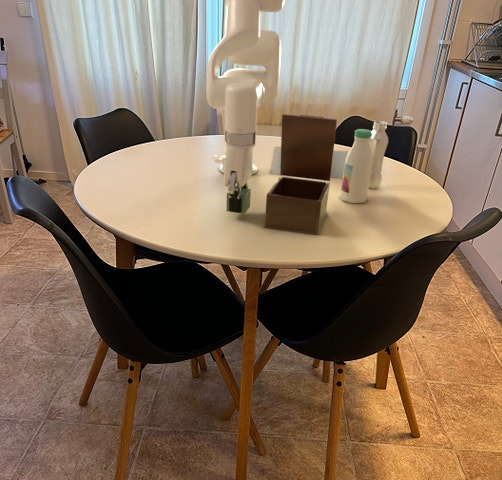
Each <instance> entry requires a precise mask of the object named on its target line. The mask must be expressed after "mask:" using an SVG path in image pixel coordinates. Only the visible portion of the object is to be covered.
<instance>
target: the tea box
mask: <svg viewBox="0 0 502 480" xmlns="http://www.w3.org/2000/svg"><path fill="white" fill-rule="evenodd" d="M330 185H331V183H330V181H323V180H315V179H307V178H299V177H291V176H283V175H280V176H279V177H278V178H277V180H276V181H275V182H274V184H273V186H271V188H269V191H268V192H267V193H266V196H265V197H266V198H265V214H264V228H266V229H271V230H280V231H287V232H293V233H300V234H307V235H312V236H313V235H314V236H318V235H319V233H320V230H321V227H322V226H323V222H324V219H325V217H326V214H327V209H328V201H329V192H330Z"/></svg>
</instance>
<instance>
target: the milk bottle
mask: <svg viewBox="0 0 502 480" xmlns="http://www.w3.org/2000/svg"><path fill="white" fill-rule="evenodd" d="M372 131H373V130H370V129H366V128H365V129H364V128H358V129H356V130H354V137H353V138H354V142H353V144H352V147H351V148H350V149H349V152H347V153H348V155H347V158H346V162H345V168H344V174H343V178H342V181H341V182H342V183H341V189H340V199H341V200H342V201H343V202H345V203H346V202H347V203H351V204H362V203H365V202H366V201H367V198H368V194H369V189H370V187H369V182H370V176H371V170H372V153H371V150H370V140H371V136H372Z"/></svg>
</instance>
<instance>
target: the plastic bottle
mask: <svg viewBox="0 0 502 480" xmlns="http://www.w3.org/2000/svg"><path fill="white" fill-rule="evenodd" d="M387 125H388V122H387V121H383V120H375V121H373V125H372V130H371V131H372V136H371V140H370V150H371V153H372V170H371V176H370V182H369V189H370V188H372V189H373V188H378V187H380V185H381V183H382V181H383V173H382V172H383V162H384V157H385V154H386V150H387V147H388V144H389V137H388V134H387V133H386V130H387Z"/></svg>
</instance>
